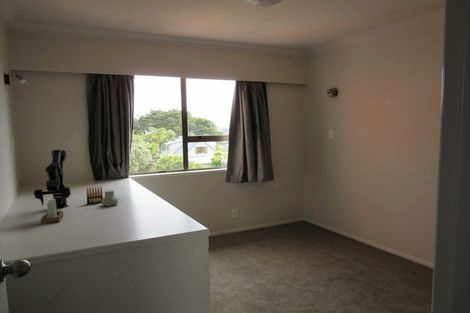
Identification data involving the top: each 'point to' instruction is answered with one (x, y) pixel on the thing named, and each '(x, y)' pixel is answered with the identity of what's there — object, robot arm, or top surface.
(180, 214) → the top surface
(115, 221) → the top surface
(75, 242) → the top surface
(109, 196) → the air freshener
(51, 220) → the brown wooden tray
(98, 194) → the ammunition clip
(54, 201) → the pale green rectangular block
